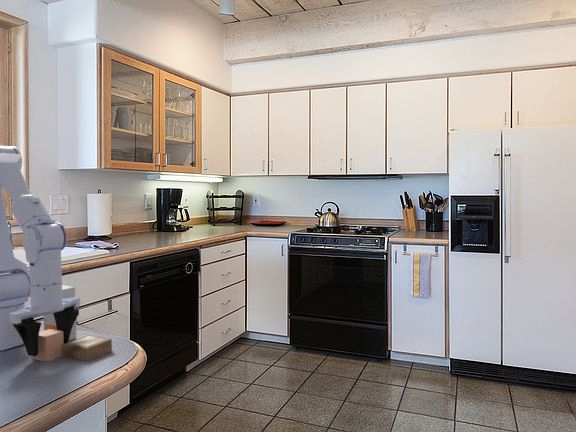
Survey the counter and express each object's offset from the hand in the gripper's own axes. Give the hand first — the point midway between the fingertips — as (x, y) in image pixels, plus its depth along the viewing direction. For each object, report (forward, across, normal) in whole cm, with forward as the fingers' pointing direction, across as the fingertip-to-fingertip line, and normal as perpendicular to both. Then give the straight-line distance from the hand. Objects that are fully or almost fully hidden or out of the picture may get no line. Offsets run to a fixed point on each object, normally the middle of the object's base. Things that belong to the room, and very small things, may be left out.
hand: (48, 349), depth 93 cm
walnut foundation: (+1, +4, -6) cm, 8 cm away
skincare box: (+2, +9, +8) cm, 12 cm away
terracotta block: (+2, 0, 0) cm, 2 cm away
